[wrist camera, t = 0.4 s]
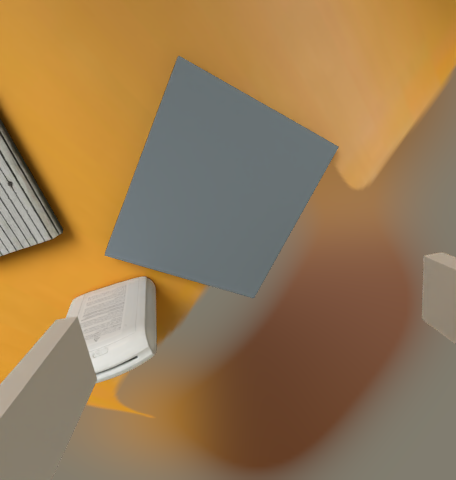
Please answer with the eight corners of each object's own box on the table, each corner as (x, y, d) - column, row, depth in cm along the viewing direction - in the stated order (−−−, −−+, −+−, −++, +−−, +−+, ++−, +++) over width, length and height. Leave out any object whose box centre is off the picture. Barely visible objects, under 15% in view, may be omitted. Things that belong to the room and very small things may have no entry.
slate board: (177, 57, 30) (178, 55, 29) (332, 145, 38) (338, 146, 36) (106, 249, 37) (104, 255, 35) (250, 292, 44) (253, 298, 43)
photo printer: (82, 322, 40) (57, 408, 29) (67, 296, 38) (34, 377, 27) (160, 296, 41) (164, 370, 30) (149, 270, 39) (149, 337, 28)
